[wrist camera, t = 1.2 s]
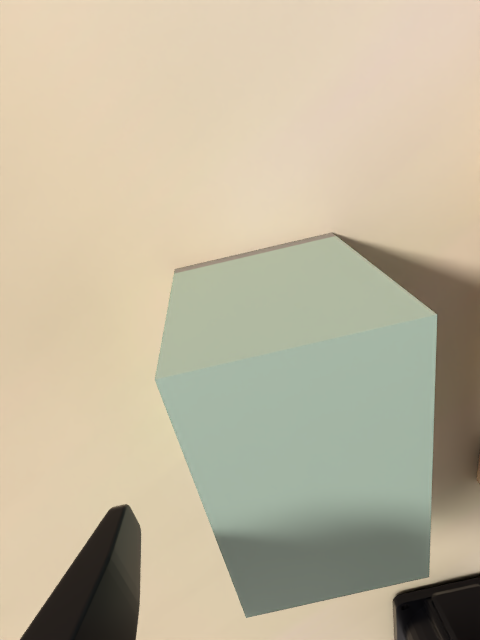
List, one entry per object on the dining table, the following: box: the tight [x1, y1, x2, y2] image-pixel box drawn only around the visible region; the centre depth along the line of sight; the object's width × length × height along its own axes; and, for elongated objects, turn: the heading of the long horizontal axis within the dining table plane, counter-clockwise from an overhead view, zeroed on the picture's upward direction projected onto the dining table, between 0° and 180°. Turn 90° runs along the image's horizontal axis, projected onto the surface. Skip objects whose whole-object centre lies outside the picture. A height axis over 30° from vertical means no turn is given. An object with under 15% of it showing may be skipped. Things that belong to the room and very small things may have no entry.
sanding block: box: [155, 233, 437, 618], centre depth 11 cm, size 8×5×6 cm, turn 12°
